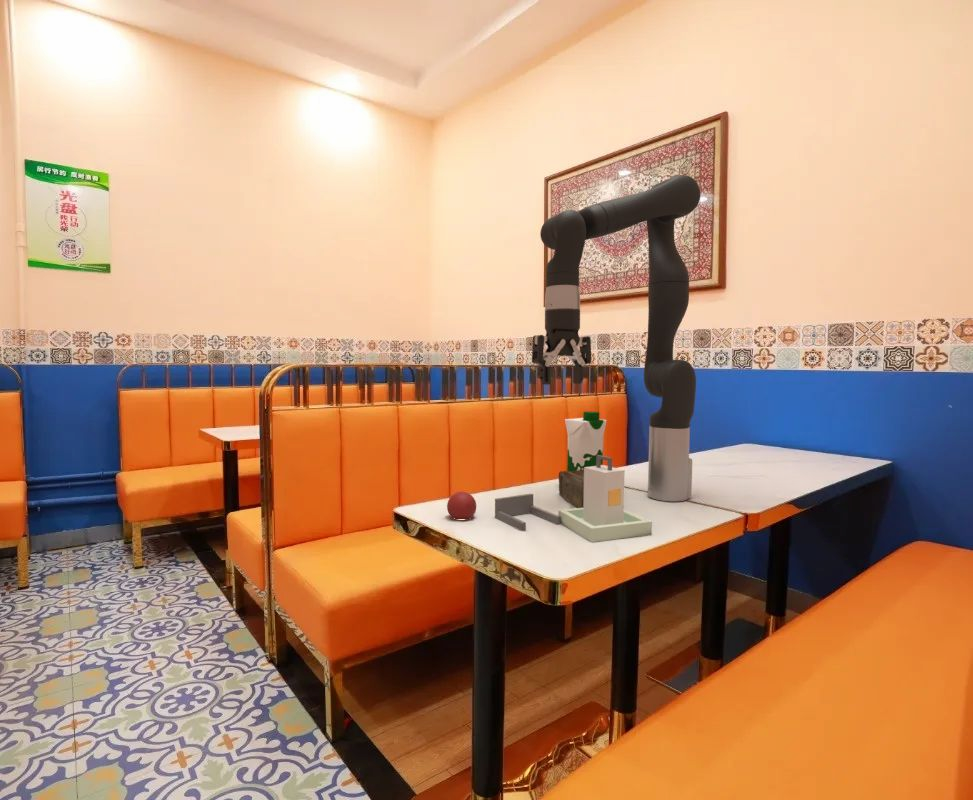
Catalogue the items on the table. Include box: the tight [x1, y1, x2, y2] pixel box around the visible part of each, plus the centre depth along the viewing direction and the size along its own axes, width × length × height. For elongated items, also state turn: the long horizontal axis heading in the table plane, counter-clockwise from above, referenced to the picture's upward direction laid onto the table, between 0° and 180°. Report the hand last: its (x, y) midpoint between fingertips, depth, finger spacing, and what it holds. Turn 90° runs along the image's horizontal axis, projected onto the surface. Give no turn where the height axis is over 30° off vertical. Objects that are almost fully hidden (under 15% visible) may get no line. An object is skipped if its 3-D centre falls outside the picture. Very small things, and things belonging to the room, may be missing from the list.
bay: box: [494, 493, 561, 532], centre depth 110 cm, size 9×10×4 cm
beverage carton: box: [558, 470, 584, 508], centre depth 123 cm, size 8×19×7 cm, turn 10°
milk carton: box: [564, 411, 608, 471], centre depth 139 cm, size 9×9×20 cm
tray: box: [557, 507, 653, 543], centre depth 105 cm, size 13×13×2 cm
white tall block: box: [583, 455, 625, 526], centre depth 105 cm, size 5×6×13 cm
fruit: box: [446, 491, 477, 520], centre depth 111 cm, size 6×6×8 cm
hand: (562, 384), depth 116 cm, fingers open, 8 cm apart
